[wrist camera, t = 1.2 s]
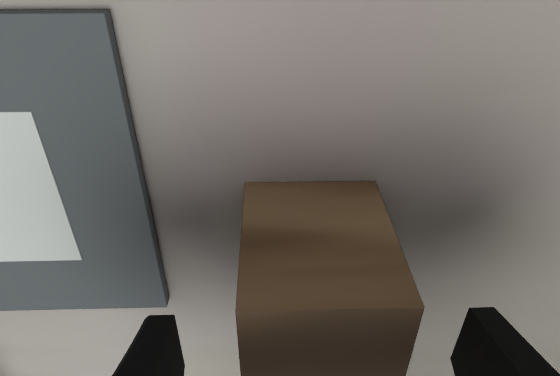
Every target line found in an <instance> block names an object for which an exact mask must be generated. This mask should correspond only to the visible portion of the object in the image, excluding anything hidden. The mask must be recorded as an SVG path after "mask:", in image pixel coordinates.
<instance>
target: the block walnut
mask: <svg viewBox="0 0 560 376" xmlns="http://www.w3.org/2000/svg"><path fill="white" fill-rule="evenodd" d="M423 311H424V305H423V302H422V300H421V297H420V295H419V292H418V289H417V287H416V284H415V282H414V279H413V277H412V274H411V271H410V269H409V266H408V264H407V261H406V259H405V256H404V253H403V251H402V248H401V246H400V243H399V241H398V238H397V235H396V233H395V230H394V228H393V225H392V223H391V220H390V217H389V215H388V212H387V210H386V207H385V205H384V202H383V199H382V197H381V194H380V192H379V189H378V186H377V184H376V181H314V182H247V183H245V188H244V202H243V216H242V229H241V243H240V257H239V270H238V284H237V298H236V323H237V335H238V347H239V359H240V371H241V376H406V372H407V369H408V365H409V361H410V358H411V354H412V351H413V347H414V343H415V340H416V336H417V333H418V329H419V325H420V322H421V318H422V315H423Z"/></svg>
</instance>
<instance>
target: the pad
mask: <svg viewBox="0 0 560 376" xmlns="http://www.w3.org/2000/svg"><path fill="white" fill-rule="evenodd" d="M168 300H169V296H168V291H167V287H166V282H165V277H164V272H163V267H162V262H161V258H160V253H159V248H158V243H157V238H156V233H155V228H154V224H153V219H152V214H151V209H150V204H149V199H148V194H147V190H146V185H145V180H144V175H143V170H142V165H141V161H140V156H139V151H138V146H137V141H136V136H135V131H134V127H133V122H132V117H131V112H130V107H129V102H128V97H127V93H126V88H125V83H124V78H123V73H122V68H121V64H120V59H119V54H118V49H117V44H116V39H115V34H114V30H113V25H112V20H111V15H110V10H0V311H11V310H57V309H102V308H148V307H167V305H168Z"/></svg>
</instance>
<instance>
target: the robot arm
mask: <svg viewBox="0 0 560 376" xmlns="http://www.w3.org/2000/svg"><path fill="white" fill-rule="evenodd" d="M450 359H451V362H452V366H453V370H454V373H455V376H560V374H559V373H558V372H557V371H556V370H555V369H554V368H553V367H552V366H551V365H550V364H549V363H548V362H547V361H546V360H545V359H544V358H543V357H542V356H541V355H540V354H539V353H538V352H537V351H536V350H535V349H534V348H533V347H532V346H531V345H530V344H529V343H528V342H527V341H526V340H525V339H524V338H523V337H522V336H521V335H520V334H519V333H518V332H517V330H516V329H515V328H514V327H513V326H512V325H511V324H510V323H509V322H508V321H507V320H506V319H505V318H504V317H503V316H502V315H501V314H500V313H499V312H498V311H497V310H496V309H495V308H494V307H481V308H469V310H468V312H467V315H466V318H465V321H464V323H463V326H462V329H461V331H460V334H459V337H458V339H457V342H456V345H455V348H454V350H453V353H452V356H451V358H450ZM184 368H185V364H184V359H183V355H182V350H181V345H180V340H179V335H178V330H177V325H176V320H175V316H174V315H149V316H148V317H147V318H145V320H144V322H143V324H142V325H141V327H140V329H139V331H138V333H137V335H136V336H135V338H134V340H133V342H132V344H131V345H130V347H129V349H128V350H127V352H126V354H125V355H124V357H123V359H122V360H121V362H120V364H119V365H118V367H117V369H116V370H115V372H114V374H113V375H112V376H184Z"/></svg>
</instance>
